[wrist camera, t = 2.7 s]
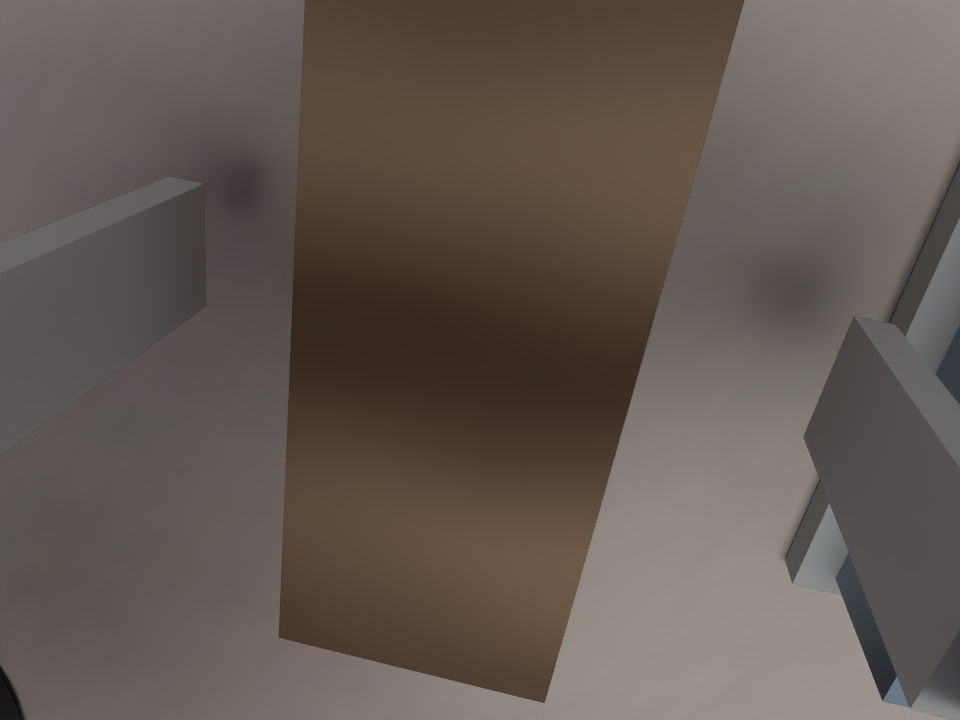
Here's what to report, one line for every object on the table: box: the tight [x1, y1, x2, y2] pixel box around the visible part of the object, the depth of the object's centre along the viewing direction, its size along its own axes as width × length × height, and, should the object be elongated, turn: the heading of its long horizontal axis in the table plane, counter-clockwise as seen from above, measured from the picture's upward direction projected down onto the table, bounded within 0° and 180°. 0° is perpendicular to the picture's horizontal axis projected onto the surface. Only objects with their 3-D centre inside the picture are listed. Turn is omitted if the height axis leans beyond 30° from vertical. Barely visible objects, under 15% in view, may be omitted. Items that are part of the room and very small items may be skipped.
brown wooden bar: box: [279, 0, 744, 703], centre depth 16 cm, size 15×6×7 cm, turn 171°
